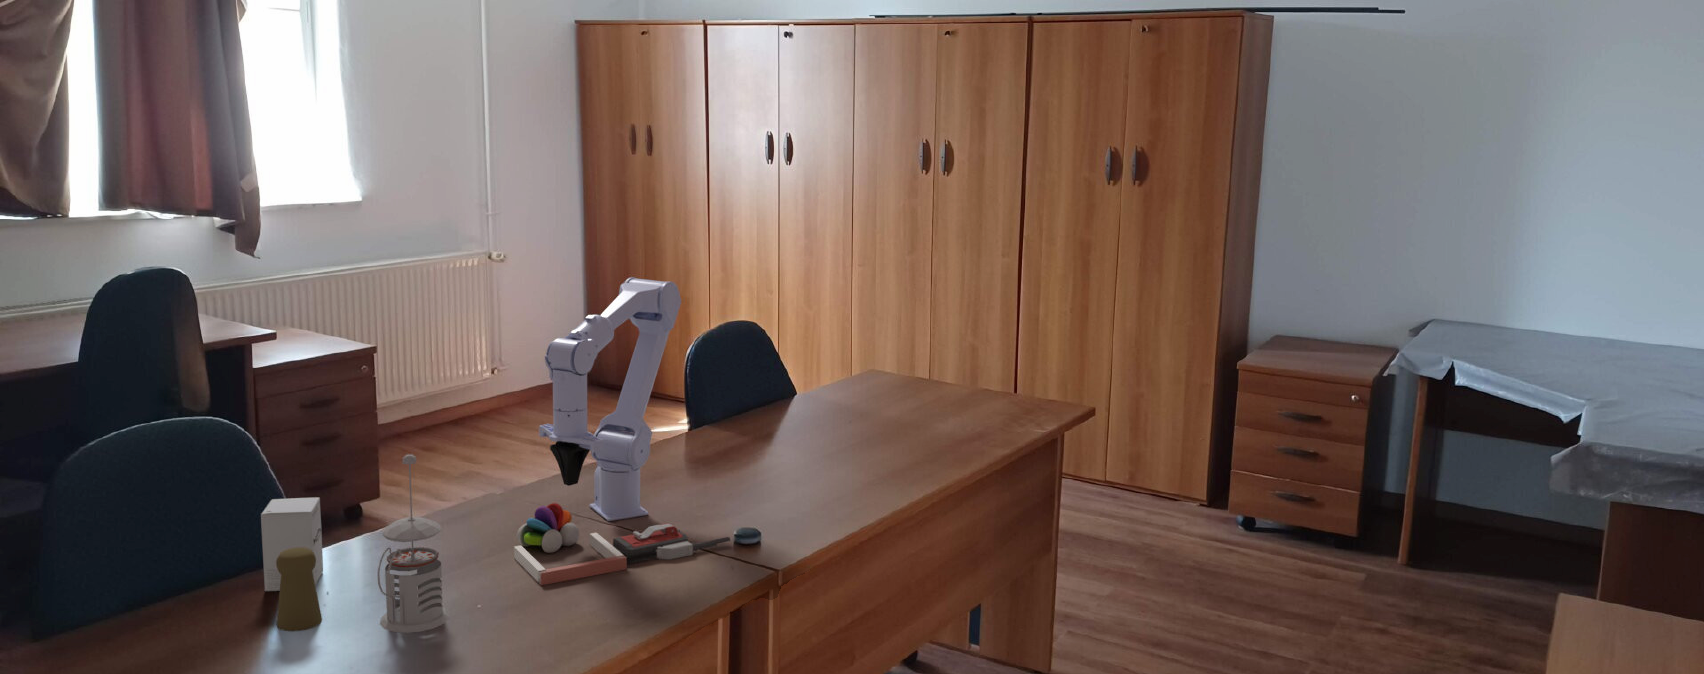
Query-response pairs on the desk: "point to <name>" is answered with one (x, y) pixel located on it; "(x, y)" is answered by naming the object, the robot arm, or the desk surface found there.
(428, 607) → the french press
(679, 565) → the desk surface
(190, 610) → the desk surface
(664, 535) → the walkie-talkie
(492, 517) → the desk surface
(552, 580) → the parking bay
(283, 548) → the supplement box
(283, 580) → the cork
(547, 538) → the colorful petals pebble cluster
